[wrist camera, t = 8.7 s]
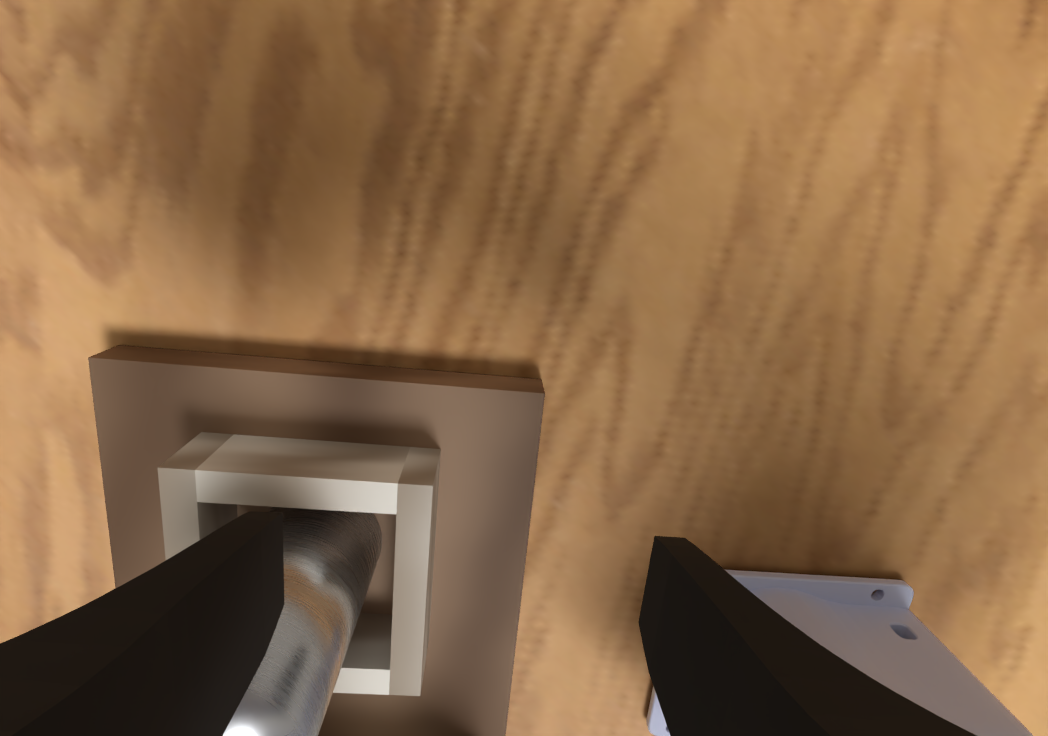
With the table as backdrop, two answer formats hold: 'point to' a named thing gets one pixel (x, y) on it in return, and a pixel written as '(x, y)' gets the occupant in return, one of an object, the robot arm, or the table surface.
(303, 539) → the steel peg
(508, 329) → the table surface
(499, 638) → the socket stand
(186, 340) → the table surface
